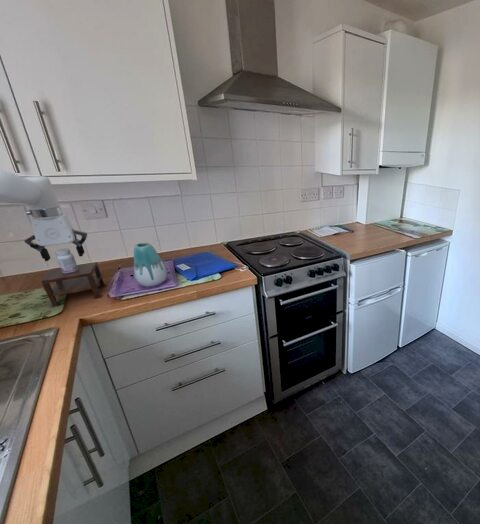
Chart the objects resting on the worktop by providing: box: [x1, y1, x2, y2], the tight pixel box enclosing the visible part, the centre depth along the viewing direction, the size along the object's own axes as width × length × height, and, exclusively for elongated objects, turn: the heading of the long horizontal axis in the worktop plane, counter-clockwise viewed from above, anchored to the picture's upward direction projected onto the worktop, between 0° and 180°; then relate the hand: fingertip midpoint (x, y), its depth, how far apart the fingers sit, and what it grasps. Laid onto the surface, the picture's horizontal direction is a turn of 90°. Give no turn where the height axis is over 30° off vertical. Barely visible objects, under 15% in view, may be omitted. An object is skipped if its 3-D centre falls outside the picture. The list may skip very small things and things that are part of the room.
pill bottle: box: [54, 248, 78, 273], centre depth 112 cm, size 5×5×8 cm
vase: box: [133, 242, 168, 288], centre depth 124 cm, size 12×12×18 cm
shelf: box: [40, 261, 106, 307], centre depth 116 cm, size 14×12×11 cm
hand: (65, 257), depth 112 cm, fingers open, 9 cm apart
